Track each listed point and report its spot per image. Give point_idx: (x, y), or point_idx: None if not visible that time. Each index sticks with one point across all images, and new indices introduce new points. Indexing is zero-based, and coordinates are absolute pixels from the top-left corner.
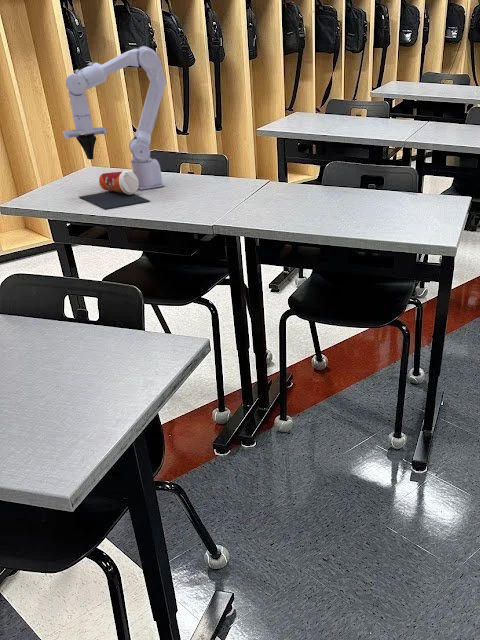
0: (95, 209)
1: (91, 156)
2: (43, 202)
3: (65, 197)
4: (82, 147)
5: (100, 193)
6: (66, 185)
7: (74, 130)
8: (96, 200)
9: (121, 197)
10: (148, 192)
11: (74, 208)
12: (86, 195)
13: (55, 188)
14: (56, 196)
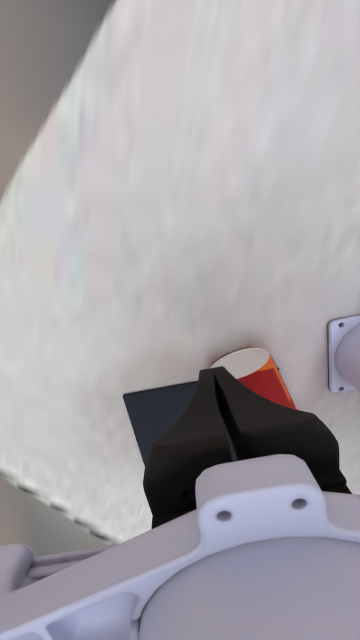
0: (142, 514)
1: (221, 414)
2: (8, 400)
3: (80, 371)
4: (187, 408)
5: (194, 389)
6: (102, 173)
7: (125, 580)
8: None
9: (236, 457)
10: (336, 421)
11: (93, 488)
12: (146, 394)
13: (52, 212)
14: (51, 345)
